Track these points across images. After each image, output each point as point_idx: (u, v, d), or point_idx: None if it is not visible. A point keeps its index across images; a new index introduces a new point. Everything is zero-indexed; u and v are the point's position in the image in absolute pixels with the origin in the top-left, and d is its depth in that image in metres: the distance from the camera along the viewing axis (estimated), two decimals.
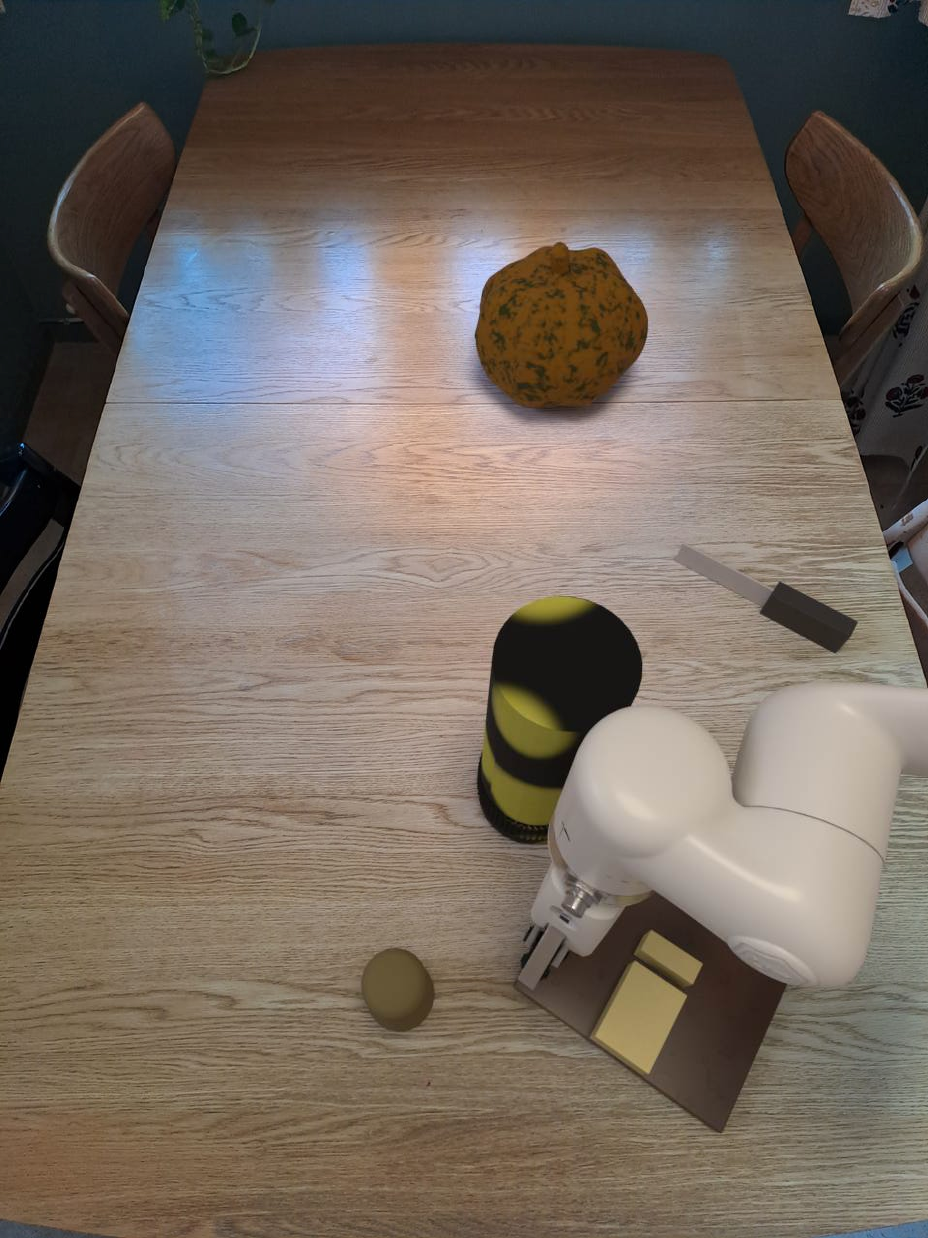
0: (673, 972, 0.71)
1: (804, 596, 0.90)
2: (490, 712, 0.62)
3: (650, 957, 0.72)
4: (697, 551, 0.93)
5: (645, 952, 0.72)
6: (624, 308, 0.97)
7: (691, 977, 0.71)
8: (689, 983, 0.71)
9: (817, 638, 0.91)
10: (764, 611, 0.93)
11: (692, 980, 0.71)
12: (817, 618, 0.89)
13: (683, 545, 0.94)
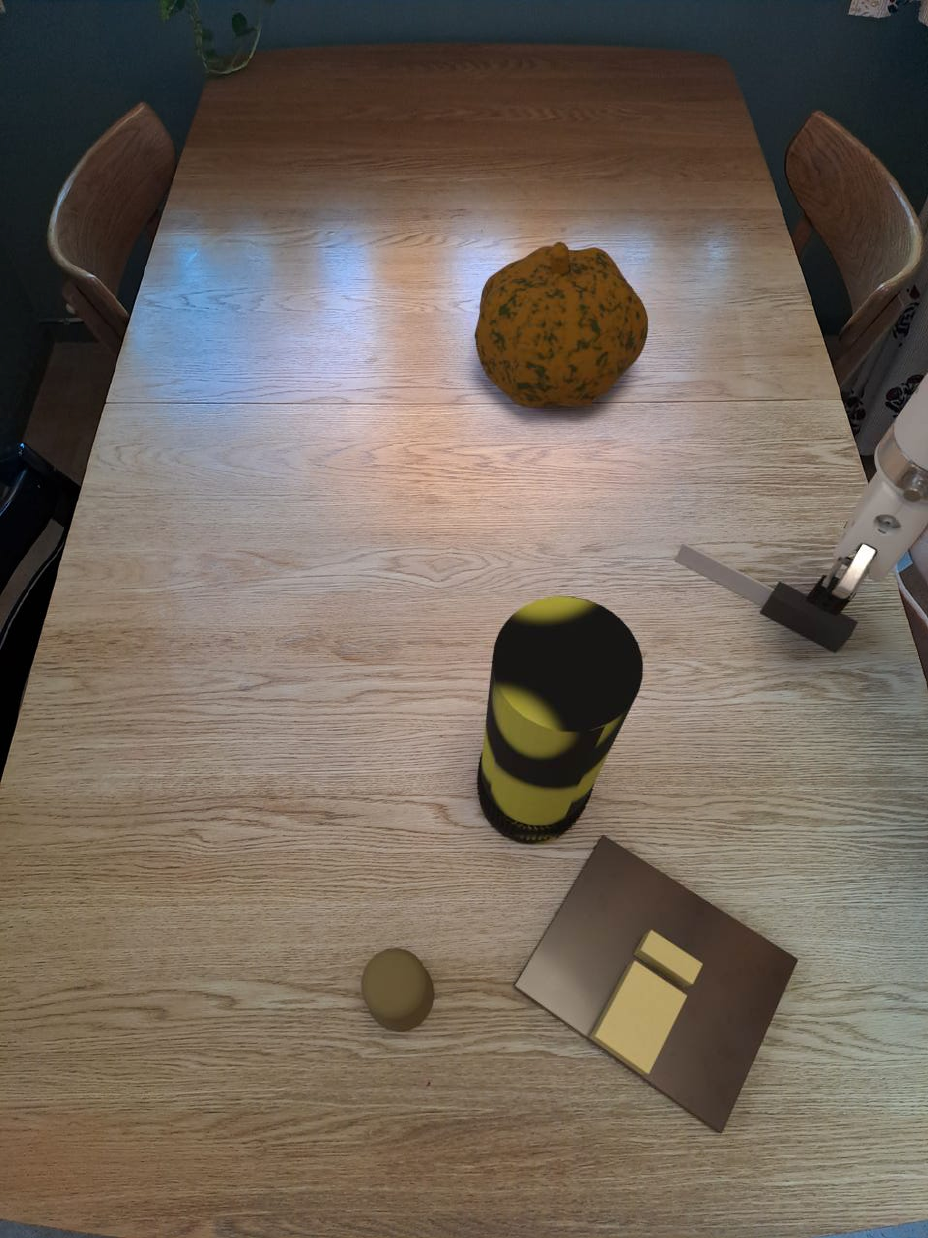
0: (673, 972, 0.71)
1: (804, 596, 0.90)
2: (490, 712, 0.62)
3: (650, 957, 0.72)
4: (697, 551, 0.93)
5: (645, 952, 0.72)
6: (624, 308, 0.97)
7: (691, 977, 0.71)
8: (689, 983, 0.71)
9: (817, 638, 0.91)
10: (764, 611, 0.93)
11: (692, 980, 0.71)
12: (817, 618, 0.89)
13: (683, 545, 0.94)
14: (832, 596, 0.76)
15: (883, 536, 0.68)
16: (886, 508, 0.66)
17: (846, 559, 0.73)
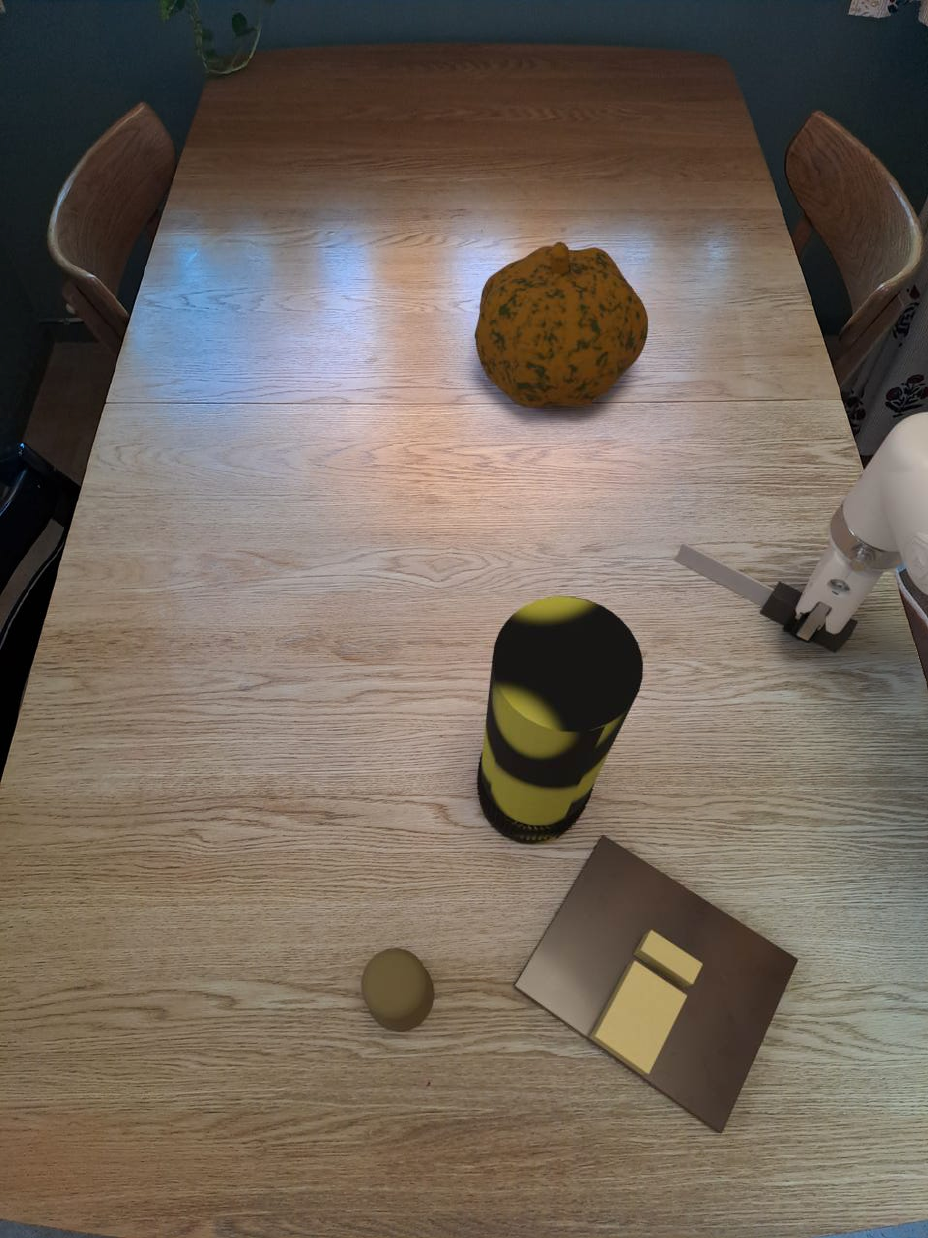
0: (673, 972, 0.71)
1: None
2: (490, 712, 0.62)
3: (650, 957, 0.72)
4: (697, 551, 0.93)
5: (645, 952, 0.72)
6: (624, 308, 0.97)
7: (691, 977, 0.71)
8: (689, 983, 0.71)
9: (817, 638, 0.91)
10: (764, 611, 0.93)
11: (692, 980, 0.71)
12: None
13: (683, 545, 0.94)
14: None
15: (836, 597, 0.79)
16: (837, 574, 0.77)
17: None
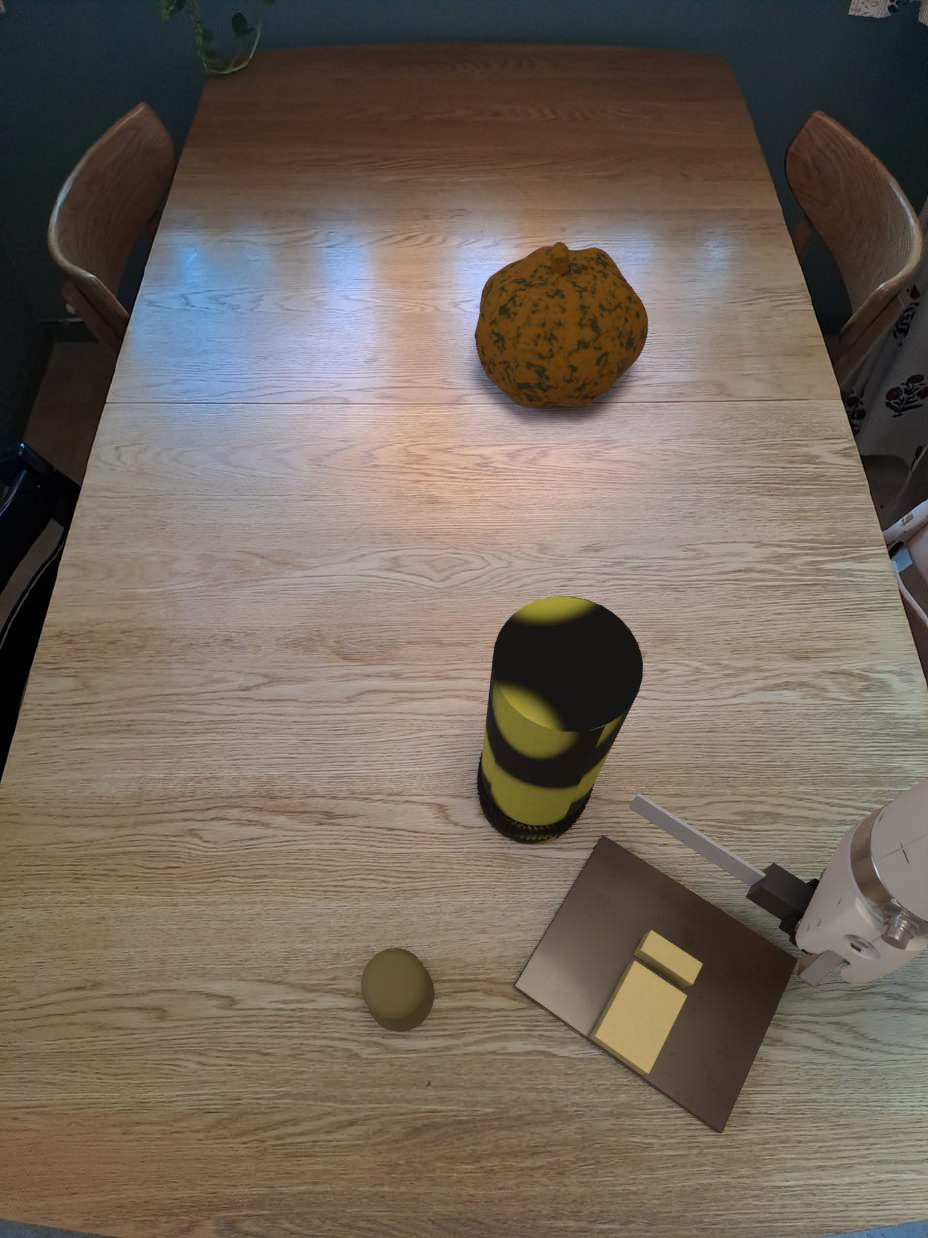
0: (673, 972, 0.71)
1: (809, 890, 0.62)
2: (490, 712, 0.62)
3: (650, 957, 0.72)
4: (657, 808, 0.65)
5: (645, 952, 0.72)
6: (624, 308, 0.97)
7: (691, 977, 0.71)
8: (689, 983, 0.71)
9: None
10: (752, 898, 0.65)
11: (692, 980, 0.71)
12: None
13: (638, 797, 0.66)
14: None
15: (857, 955, 0.51)
16: (860, 931, 0.49)
17: None
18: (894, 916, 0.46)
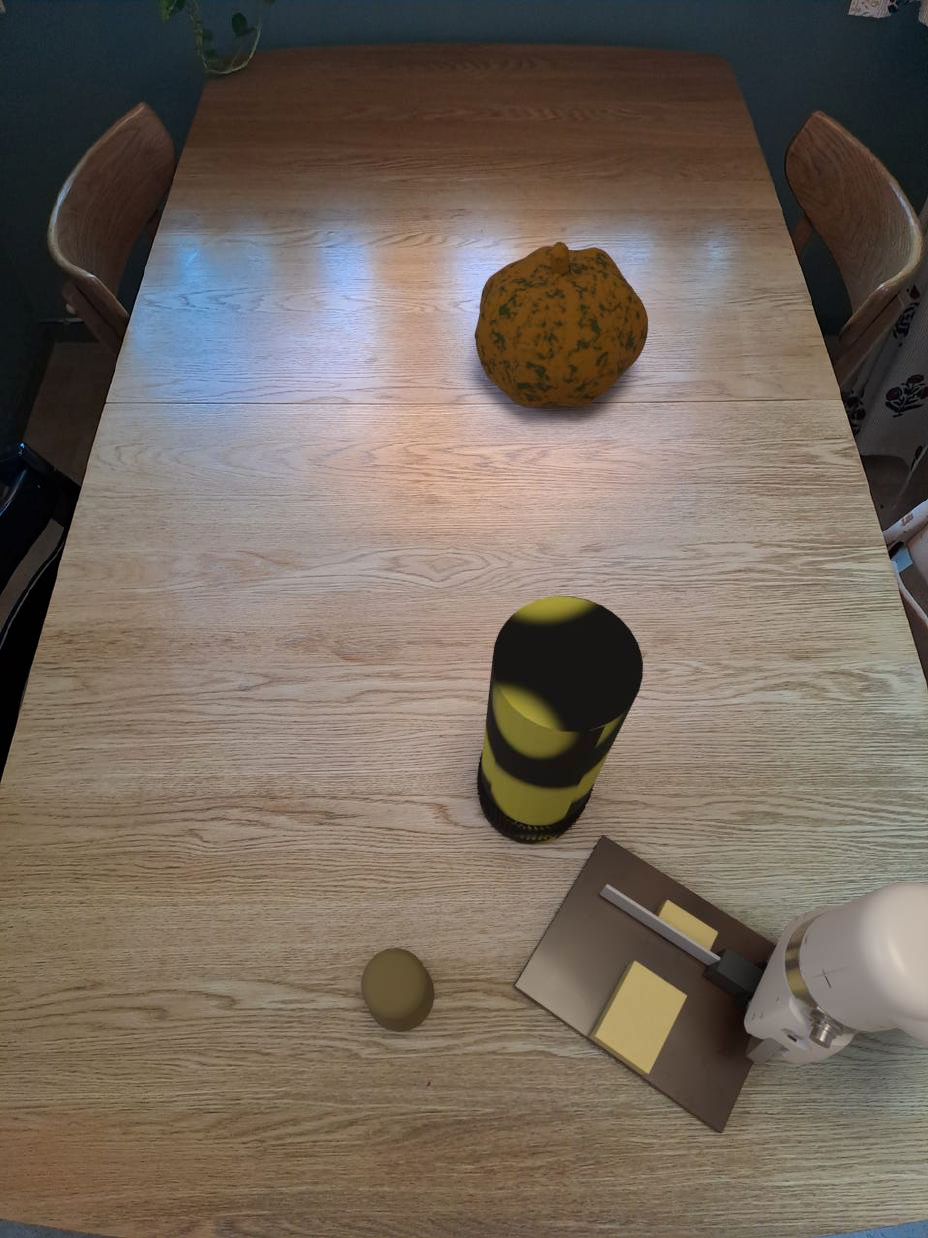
0: None
1: (758, 972, 0.70)
2: (490, 712, 0.62)
3: None
4: (624, 898, 0.73)
5: None
6: (624, 308, 0.97)
7: (707, 945, 0.72)
8: None
9: None
10: (709, 977, 0.73)
11: (708, 948, 0.72)
12: None
13: (607, 888, 0.74)
14: None
15: (793, 1045, 0.59)
16: (794, 1028, 0.57)
17: None
18: (819, 1020, 0.54)
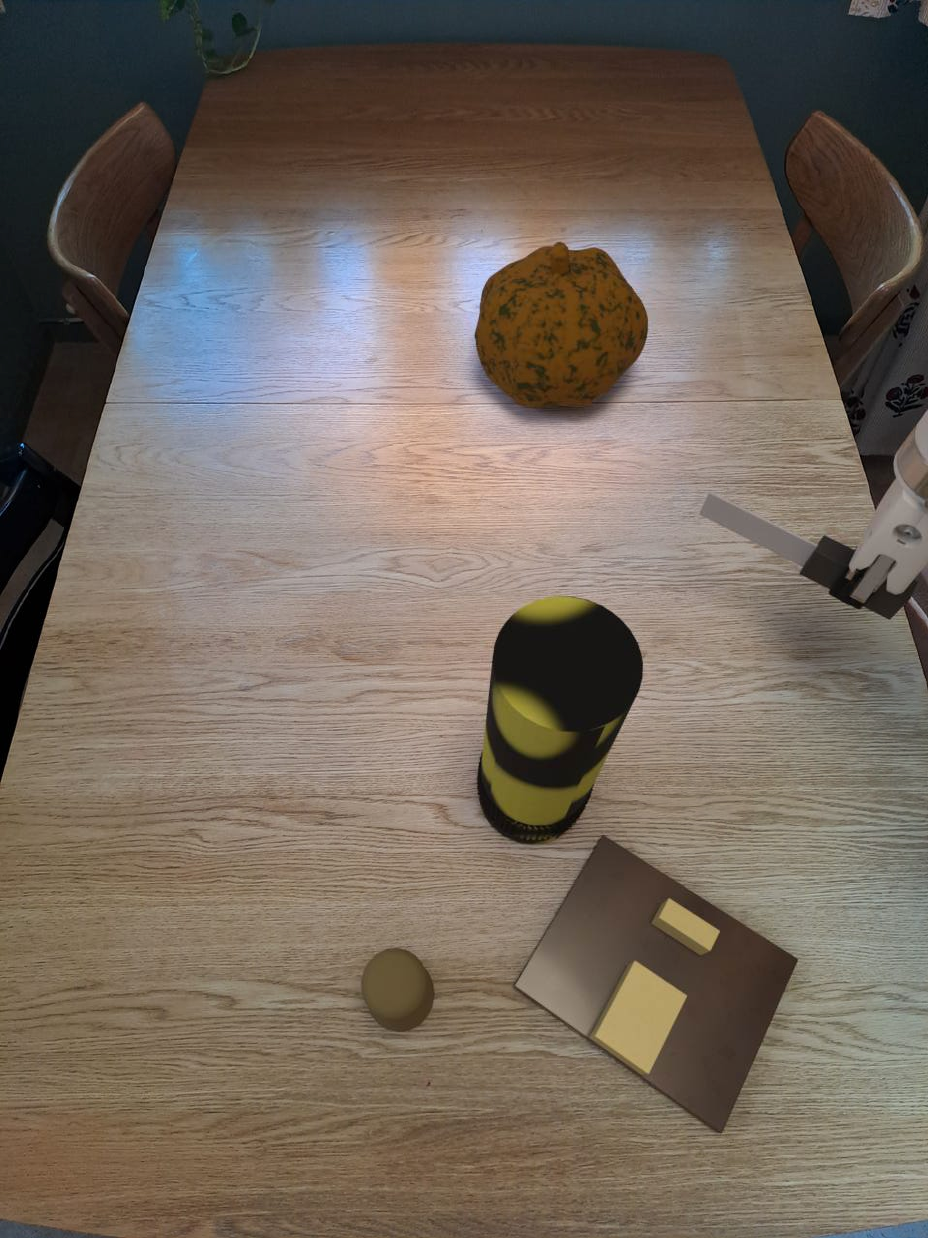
0: (691, 939, 0.73)
1: (854, 552, 0.76)
2: (490, 712, 0.62)
3: (668, 925, 0.73)
4: (726, 501, 0.80)
5: (663, 920, 0.73)
6: (624, 308, 0.97)
7: (709, 944, 0.72)
8: (707, 950, 0.72)
9: (868, 602, 0.77)
10: (805, 571, 0.79)
11: (710, 947, 0.72)
12: None
13: (709, 494, 0.80)
14: None
15: (903, 547, 0.65)
16: (906, 518, 0.63)
17: None
18: None
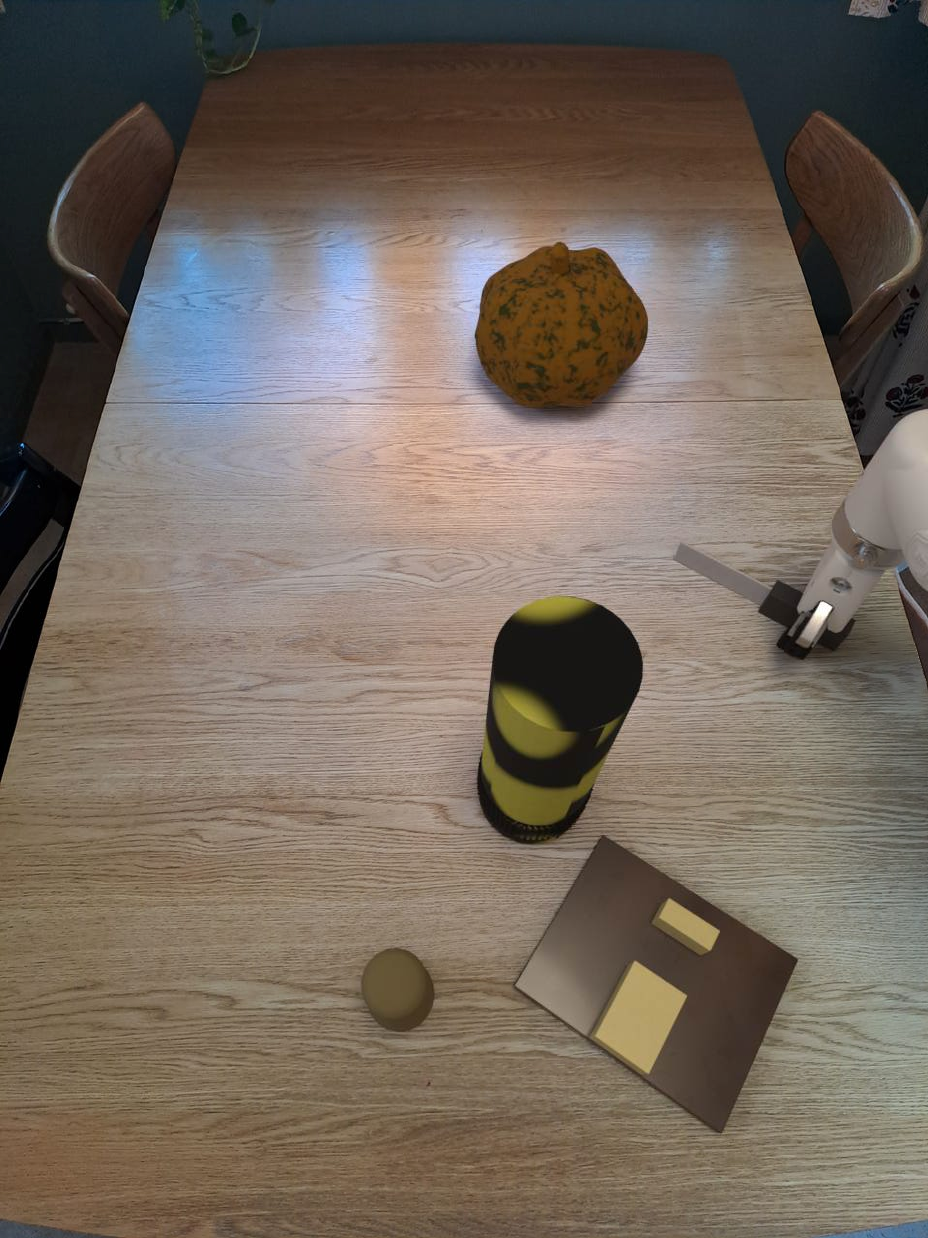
0: (691, 939, 0.73)
1: (802, 595, 0.90)
2: (490, 712, 0.62)
3: (668, 925, 0.73)
4: (695, 550, 0.93)
5: (663, 920, 0.73)
6: (624, 308, 0.97)
7: (709, 944, 0.72)
8: (707, 950, 0.72)
9: None
10: (762, 610, 0.93)
11: (710, 947, 0.72)
12: None
13: (681, 544, 0.94)
14: (797, 644, 0.86)
15: (838, 595, 0.79)
16: (839, 572, 0.77)
17: (808, 612, 0.84)
18: (859, 548, 0.74)
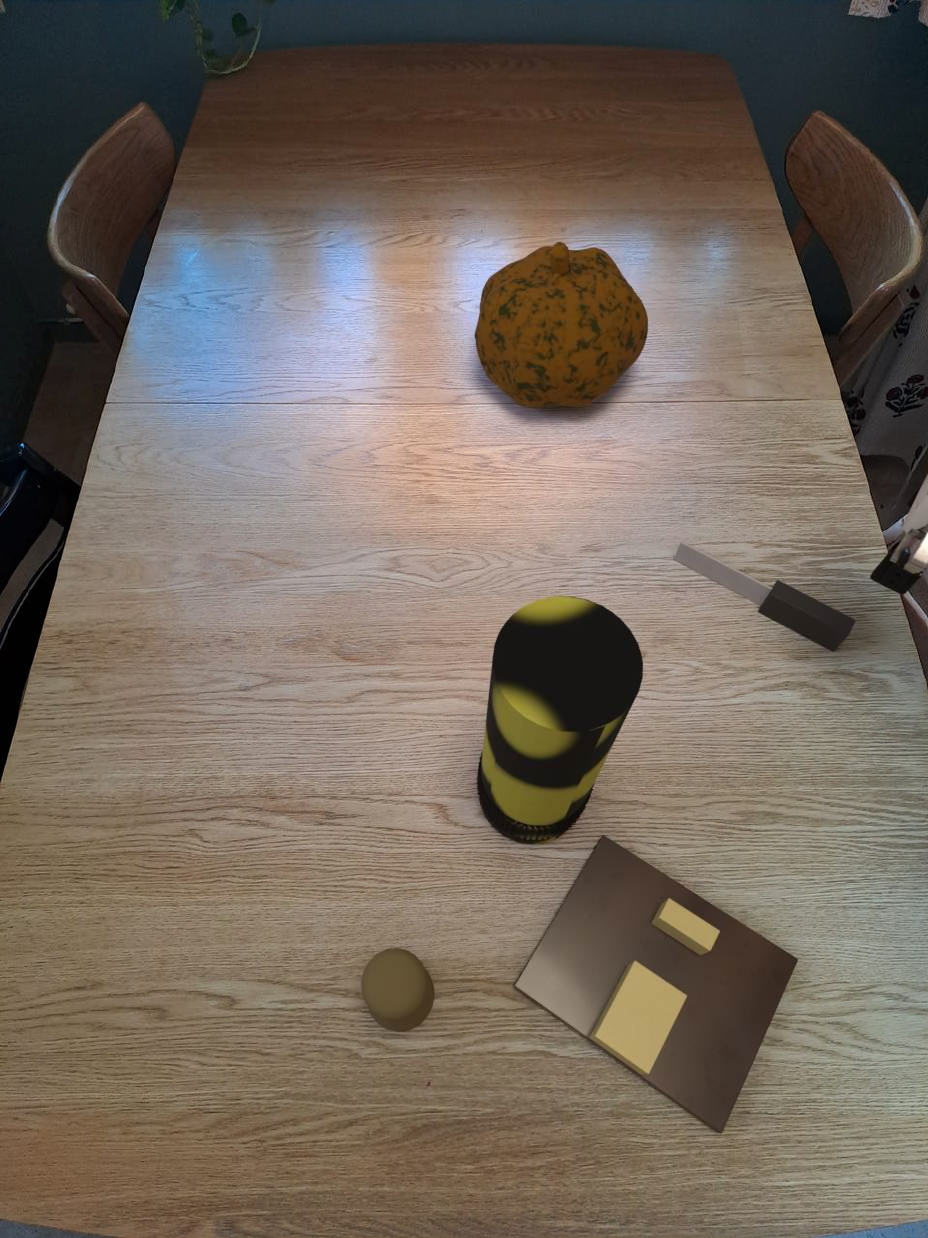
0: (691, 939, 0.73)
1: (802, 595, 0.90)
2: (490, 712, 0.62)
3: (668, 925, 0.73)
4: (695, 550, 0.93)
5: (663, 920, 0.73)
6: (624, 308, 0.97)
7: (709, 944, 0.72)
8: (707, 950, 0.72)
9: (815, 637, 0.91)
10: (762, 610, 0.93)
11: (710, 947, 0.72)
12: (815, 617, 0.89)
13: (681, 544, 0.94)
14: (901, 572, 0.71)
15: None
16: None
17: (918, 532, 0.69)
18: None
